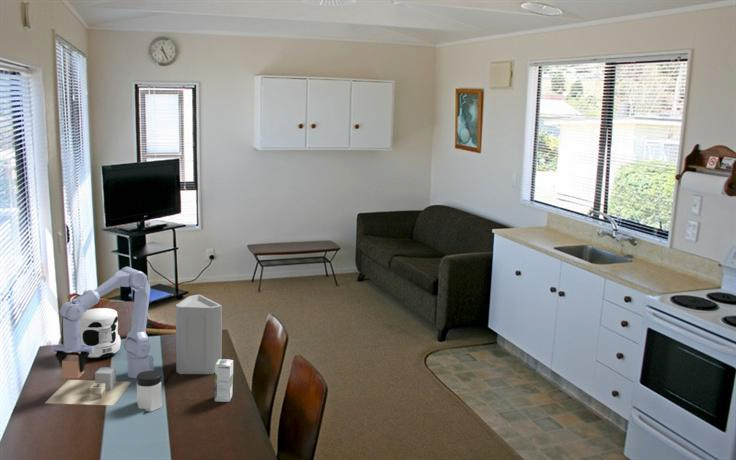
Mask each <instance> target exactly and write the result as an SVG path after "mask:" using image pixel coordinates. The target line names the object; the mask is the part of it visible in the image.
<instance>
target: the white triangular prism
mask: <svg viewBox="0 0 736 460" xmlns="http://www.w3.org/2000/svg"><path fill="white" fill-rule="evenodd" d="M222 310H223V307H222V304H219V302H215V300H212V299H210V298H207V297H205V296H204V295H202V294H194V295H189V296H187V297H186V298H184V299H182V300H181V301H179V302H178V303H177V304H176V305H175V350H176V351H175V355H176V356H175V357H176V358H175V359H176V360H175V361H176V362H175V364H176V365H175V366H176V369H175V370H176V373H178V374H180V375H215V374H214V373H215V365H216V363H217V361H218V360H219V359H223V358H222V355H223V354H222V350H223V349H222V346H223V345H222V344H223V343H222V341H223V340H222V336H223V335H222V334H223V332H222V331H223V327H222V326H223V325H222V324H223V322H222V321H223V319H222V318H223V317H222V316H223V311H222Z"/></svg>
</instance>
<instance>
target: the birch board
mask: <svg viewBox="0 0 736 460" xmlns="http://www.w3.org/2000/svg"><path fill="white" fill-rule="evenodd" d="M94 383H95V380H88V379H87V380H86V379H84V380H83V379H67V381H65V382H64V383H63V384H62V385H61V387H59V388H58V389H57V390H56V391H55V392H54V393H53V394H52V395H51V396H50V397H49V398H48V399H47V400H46V401H45V402H44V404H51V405H52V404H53V405H54V404H55V405H57V404H58V405H61V404H62V405H85V406H86V405H87V406H114V405H115V404H116V402H118V400H119V399H120V397H122V395H123V394H124V393H125V392H126V390H127V389H128V387H129V386H130V384H132V381H123V380H122V381H121V380H120V381H117V380H116V384H115V386H114V387H113V388H112V389H111V390H105V393H106V394H105V395H104V396H103V397H102V399H101V398H90V387H91V386H92V385H93V384H94Z"/></svg>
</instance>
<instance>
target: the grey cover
mask: <svg viewBox="0 0 736 460" xmlns="http://www.w3.org/2000/svg"><path fill="white" fill-rule="evenodd" d="M116 379H117V369H116V367H110V366H109V367H108V366H107V367H106V366H101V367H99V368H98V369H97V370H96V371H95V373H94V381H95V383H105V390H111V389H112V388H113V387H114V386H115V384H116V381H117V380H116Z"/></svg>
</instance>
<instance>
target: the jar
mask: <svg viewBox="0 0 736 460" xmlns="http://www.w3.org/2000/svg"><path fill="white" fill-rule="evenodd" d="M161 380H162V374H161V372H159V371H157V370H154V371H144V372H141V373H139V374H138V375H137V378H136V404H137V408H138V409H141V410H142V409H143V410H144V412H153V411H156V410H158V409H160V408H162V405H163V403H162V397H163V396H162V381H161Z"/></svg>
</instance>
